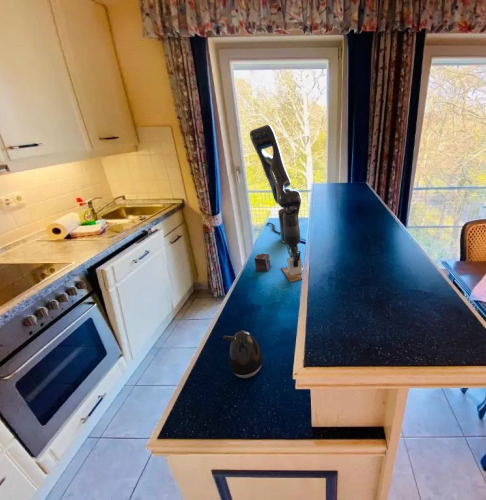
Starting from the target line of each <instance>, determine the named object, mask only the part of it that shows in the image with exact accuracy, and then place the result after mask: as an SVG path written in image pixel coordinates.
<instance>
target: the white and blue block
mask: <svg viewBox="0 0 486 500" xmlns="http://www.w3.org/2000/svg"><path fill="white" fill-rule="evenodd" d="M286 262H287V267H288V272H289V274H290V275H295V274H299V273H302V268H303V267H302V258H301V257H300V261H298V267H294V264H293V257H290V256H289V257H287V258H286Z"/></svg>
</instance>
